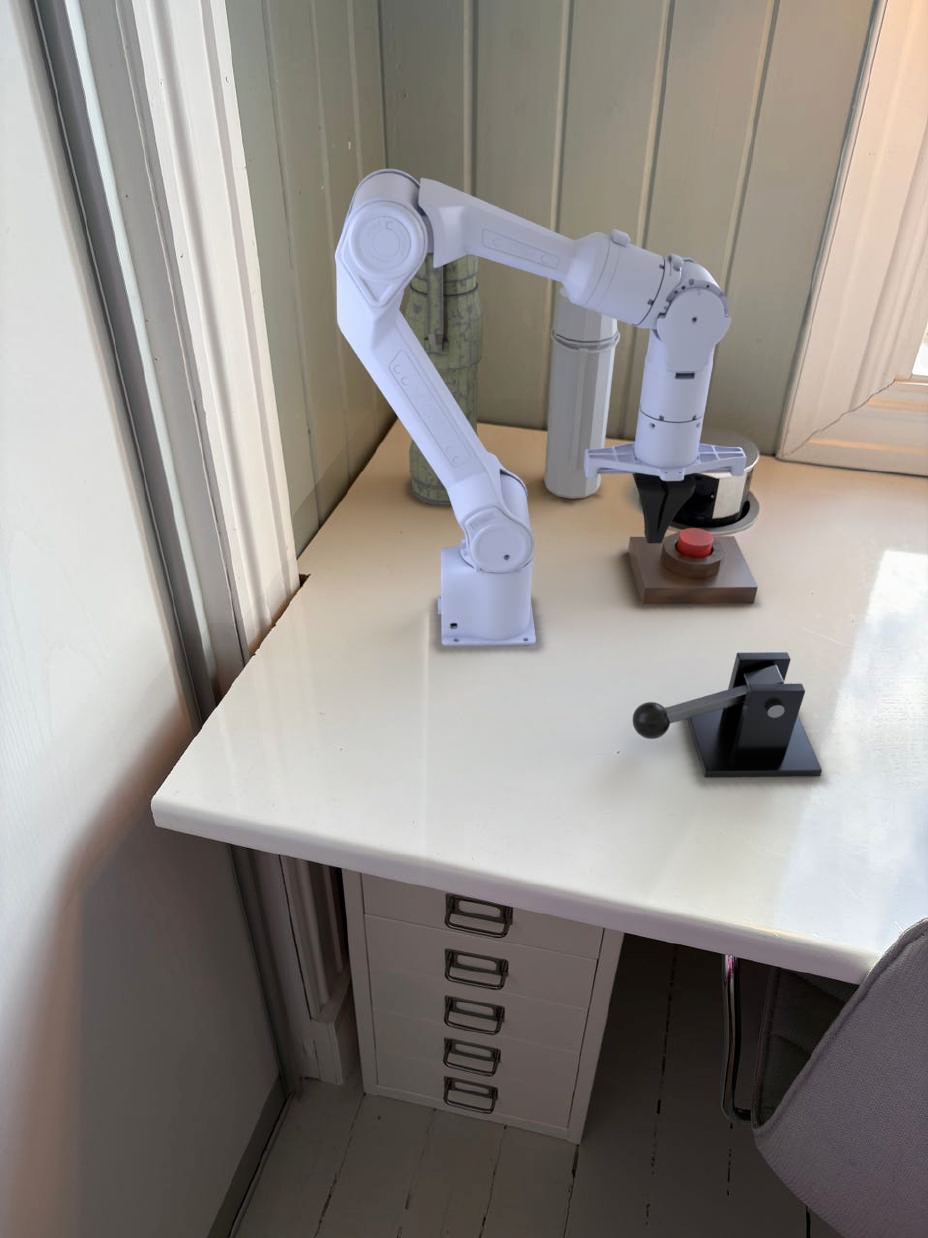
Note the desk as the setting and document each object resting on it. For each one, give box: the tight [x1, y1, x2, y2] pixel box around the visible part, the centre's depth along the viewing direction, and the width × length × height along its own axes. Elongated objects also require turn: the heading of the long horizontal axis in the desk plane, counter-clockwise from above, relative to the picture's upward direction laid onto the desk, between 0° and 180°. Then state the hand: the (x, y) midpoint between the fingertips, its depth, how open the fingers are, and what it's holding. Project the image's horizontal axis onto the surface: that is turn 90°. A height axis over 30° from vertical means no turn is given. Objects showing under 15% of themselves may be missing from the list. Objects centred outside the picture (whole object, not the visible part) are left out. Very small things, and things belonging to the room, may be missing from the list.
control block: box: [627, 530, 759, 605], centre depth 102 cm, size 12×10×4 cm
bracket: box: [686, 651, 823, 779], centre depth 80 cm, size 10×8×9 cm
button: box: [677, 527, 713, 558], centre depth 100 cm, size 4×4×2 cm
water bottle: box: [543, 286, 621, 500], centre depth 110 cm, size 9×8×25 cm
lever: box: [631, 665, 785, 740], centre depth 80 cm, size 13×3×3 cm, turn 91°
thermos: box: [404, 252, 484, 507], centre depth 108 cm, size 9×12×35 cm
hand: (653, 537), depth 90 cm, fingers closed
